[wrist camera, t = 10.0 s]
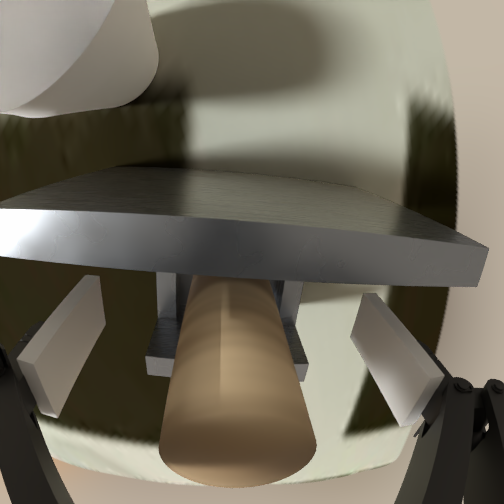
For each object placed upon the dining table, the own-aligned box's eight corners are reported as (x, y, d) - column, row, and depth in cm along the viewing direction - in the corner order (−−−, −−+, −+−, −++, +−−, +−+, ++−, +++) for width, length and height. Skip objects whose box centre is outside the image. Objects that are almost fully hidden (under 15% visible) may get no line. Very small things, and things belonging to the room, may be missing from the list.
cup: (201, 66, 18) (173, -13, 7) (106, 148, 19) (0, 163, 8) (132, -4, 15) (73, -87, 4) (48, 74, 17) (-56, 50, 5)
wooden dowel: (198, 231, 19) (148, 405, 6) (267, 236, 20) (335, 409, 6) (195, 293, 21) (166, 483, 7) (259, 297, 21) (297, 484, 8)
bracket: (115, 166, 20) (-17, 208, 7) (355, 186, 22) (489, 248, 9) (118, 294, 23) (47, 422, 10) (330, 307, 25) (401, 434, 12)
